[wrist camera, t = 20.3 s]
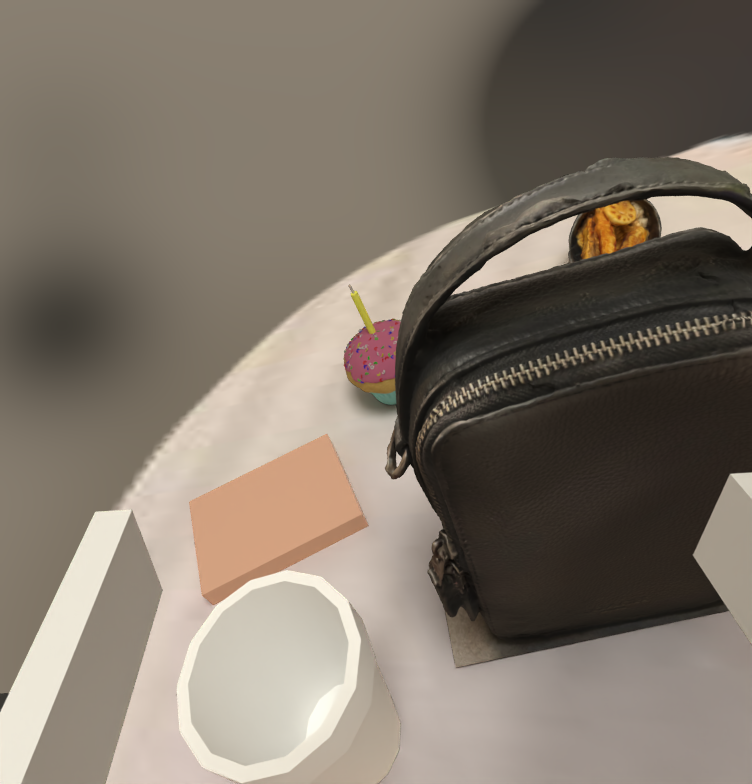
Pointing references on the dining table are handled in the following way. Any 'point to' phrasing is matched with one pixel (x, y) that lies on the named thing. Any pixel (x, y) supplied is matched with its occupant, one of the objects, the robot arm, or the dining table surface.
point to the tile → (273, 518)
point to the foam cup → (287, 688)
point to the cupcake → (373, 355)
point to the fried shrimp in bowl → (613, 229)
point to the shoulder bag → (577, 416)
